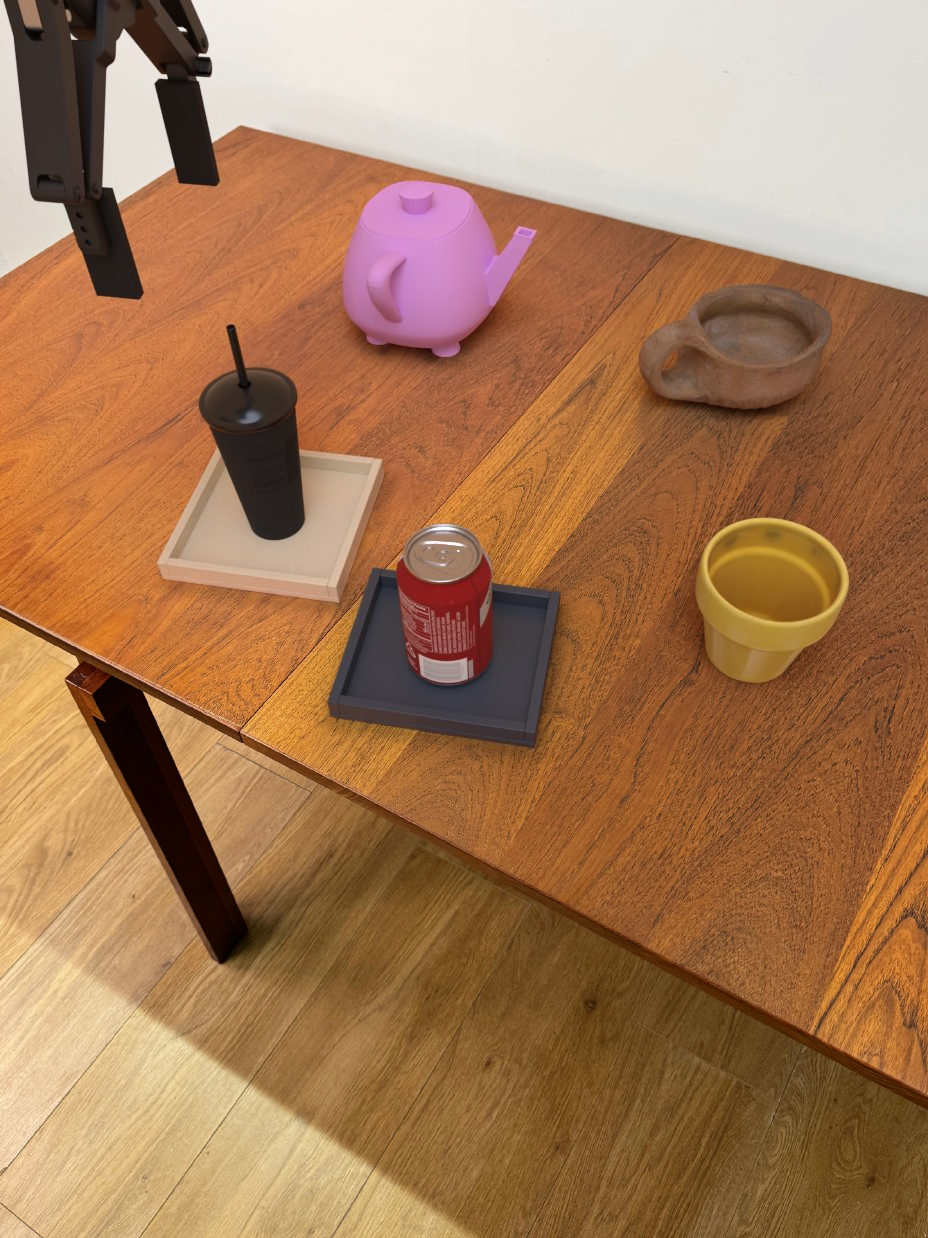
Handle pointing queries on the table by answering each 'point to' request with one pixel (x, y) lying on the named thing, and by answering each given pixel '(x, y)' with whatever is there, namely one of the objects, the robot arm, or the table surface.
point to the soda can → (446, 604)
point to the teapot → (425, 267)
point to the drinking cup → (258, 442)
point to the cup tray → (296, 566)
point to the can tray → (478, 709)
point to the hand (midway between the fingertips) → (162, 235)
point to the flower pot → (767, 595)
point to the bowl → (739, 348)
